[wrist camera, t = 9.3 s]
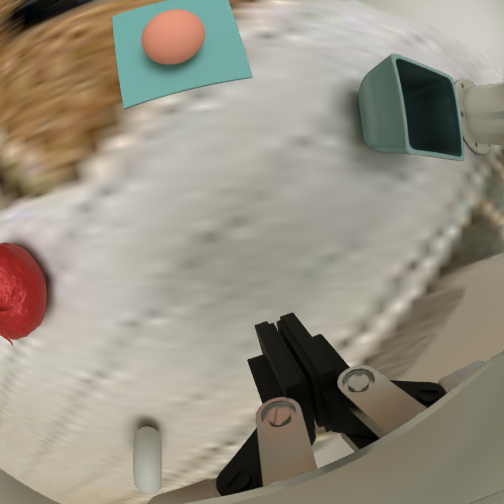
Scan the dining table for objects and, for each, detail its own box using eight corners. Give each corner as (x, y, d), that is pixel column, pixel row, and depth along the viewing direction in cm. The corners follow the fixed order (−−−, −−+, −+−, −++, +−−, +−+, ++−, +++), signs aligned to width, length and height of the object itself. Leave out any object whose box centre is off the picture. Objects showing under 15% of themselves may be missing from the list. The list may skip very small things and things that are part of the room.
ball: (216, 63, 19) (198, 36, 20) (210, 15, 14) (191, -6, 14) (155, 84, 19) (146, 54, 20) (137, 39, 13) (131, 14, 14)
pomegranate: (70, 271, 23) (27, 312, 14) (42, 337, 23) (10, 385, 14) (8, 217, 19) (-46, 234, 10) (-13, 287, 20) (-56, 319, 11)
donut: (160, 452, 30) (160, 505, 21) (137, 448, 29) (134, 501, 20) (163, 414, 28) (162, 477, 19) (137, 409, 28) (129, 471, 18)
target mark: (224, -8, 18) (225, -9, 18) (251, 77, 21) (252, 76, 21) (112, 17, 16) (112, 16, 16) (124, 108, 20) (124, 108, 20)
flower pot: (348, 158, 25) (408, 154, 17) (338, 79, 23) (390, 51, 15) (407, 161, 27) (465, 161, 18) (398, 91, 25) (452, 76, 16)
